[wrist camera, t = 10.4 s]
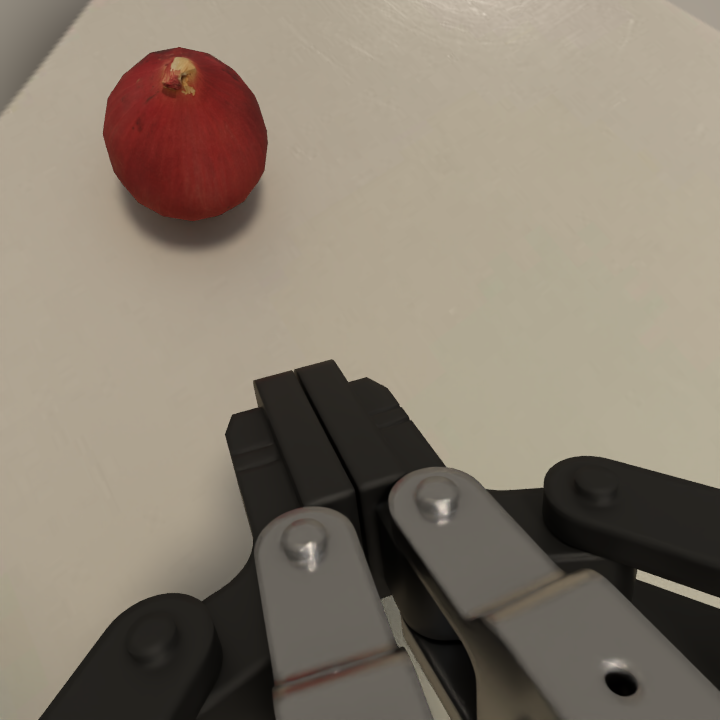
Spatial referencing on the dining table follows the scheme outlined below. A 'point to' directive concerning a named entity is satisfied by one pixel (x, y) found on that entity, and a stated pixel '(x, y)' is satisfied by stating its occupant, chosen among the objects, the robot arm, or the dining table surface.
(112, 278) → the dining table surface
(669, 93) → the dining table surface
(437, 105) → the dining table surface
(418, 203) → the dining table surface
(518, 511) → the robot arm
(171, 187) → the pomegranate
